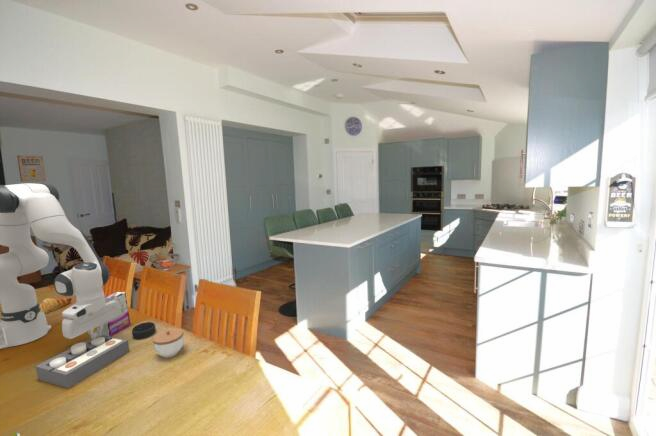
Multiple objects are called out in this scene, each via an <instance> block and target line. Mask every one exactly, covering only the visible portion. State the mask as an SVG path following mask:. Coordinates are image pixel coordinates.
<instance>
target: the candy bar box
mask: <svg viewBox="0 0 656 436" xmlns="http://www.w3.org/2000/svg"><path fill="white" fill-rule="evenodd" d="M111 296H117V297H118V301H119V302H118V303H119V305H120V308H121V315H120V316H119V317H117V318H115V319H113V320H111V321H109V322H106V323H104V324H103V329H102V331H101V334H102V335H105V336H110V337H114V336H115V335H116V334H118V333H120V332H121V331H123V330H124V329H126V328H127V327H129V326H130V325H131V319H130V311H129V307H128V301H127V295H126V291H116V292H114V293H111V294H109V295H108V296H105V299H106V298H109V297H111Z"/></svg>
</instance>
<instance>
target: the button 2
mask: <svg viewBox="0 0 656 436" xmlns="http://www.w3.org/2000/svg"><path fill="white" fill-rule="evenodd" d="M84 342H85V341H83V342H77V343H75V344H73V345H72V346H71V347H70V349H71V353H72V355H75V356H77V357H78V356H80V355H82V354H84V353H86V352H87V349H86V343H84Z"/></svg>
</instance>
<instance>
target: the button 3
mask: <svg viewBox="0 0 656 436" xmlns="http://www.w3.org/2000/svg"><path fill="white" fill-rule="evenodd" d="M104 342H105V338H104V337H99V338H96V339H94V340H92V341H91V345H96V347H97V346H99V345H101V344H103V343H104Z"/></svg>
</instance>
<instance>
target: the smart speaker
mask: <svg viewBox="0 0 656 436" xmlns="http://www.w3.org/2000/svg"><path fill="white" fill-rule="evenodd" d="M156 331H157V329H156V324H155V323H154V322H151V321H150V322H149V321H147V322H141V323H139V324H137V325H134V327H133V328H132V329H131V334H132V338H133V339H135V340H141V339H142V340H143V339H146V338H149V337H151V336H153V335H154V334H155V333H156Z"/></svg>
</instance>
